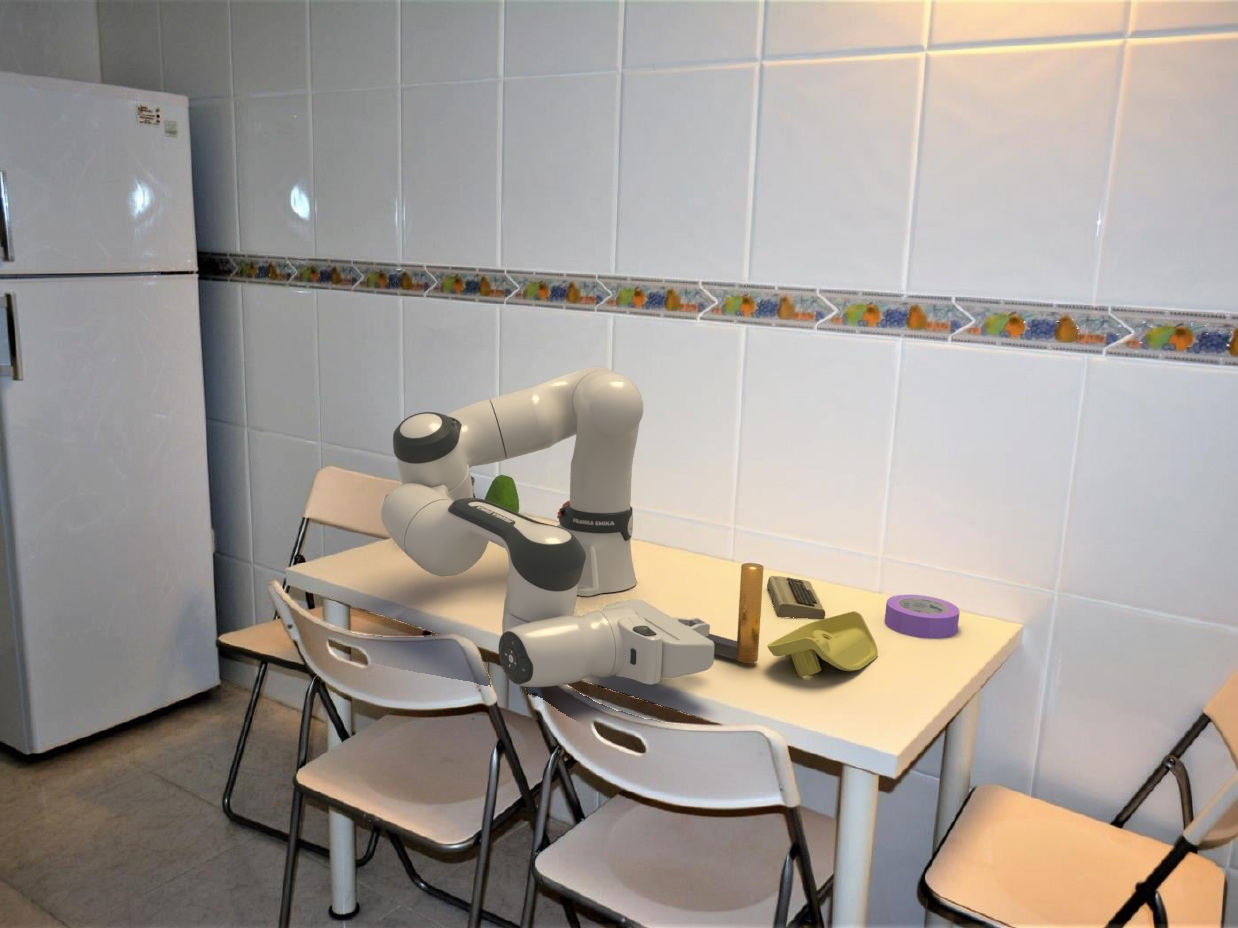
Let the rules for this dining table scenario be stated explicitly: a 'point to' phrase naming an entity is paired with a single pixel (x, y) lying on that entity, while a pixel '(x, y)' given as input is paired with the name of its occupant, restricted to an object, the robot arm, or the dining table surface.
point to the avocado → (503, 493)
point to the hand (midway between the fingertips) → (704, 626)
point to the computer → (794, 598)
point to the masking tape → (921, 616)
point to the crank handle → (745, 618)
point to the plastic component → (828, 644)
